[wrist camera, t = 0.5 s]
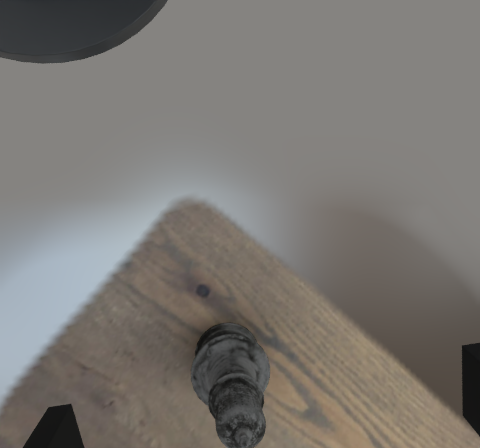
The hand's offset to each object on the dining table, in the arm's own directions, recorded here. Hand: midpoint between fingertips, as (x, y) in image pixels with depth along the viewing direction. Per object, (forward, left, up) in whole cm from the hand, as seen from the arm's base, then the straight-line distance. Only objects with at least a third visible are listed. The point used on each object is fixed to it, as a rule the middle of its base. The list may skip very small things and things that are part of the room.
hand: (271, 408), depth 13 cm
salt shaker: (+6, -2, -19) cm, 20 cm away
